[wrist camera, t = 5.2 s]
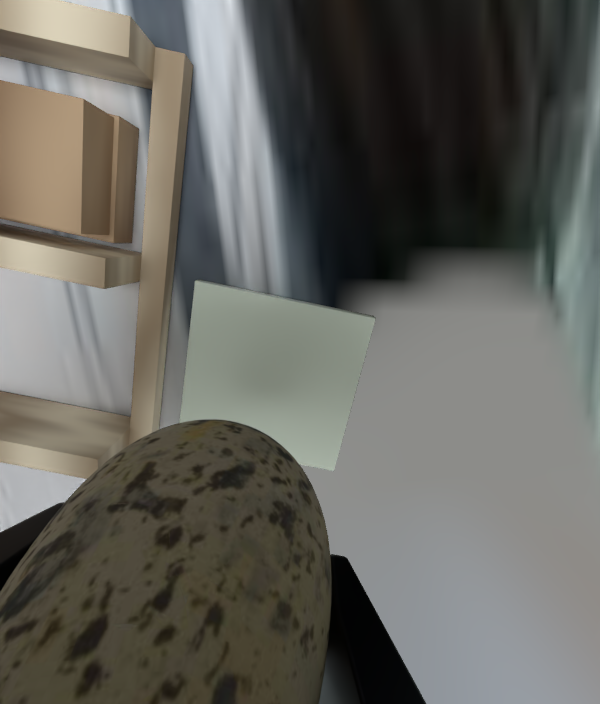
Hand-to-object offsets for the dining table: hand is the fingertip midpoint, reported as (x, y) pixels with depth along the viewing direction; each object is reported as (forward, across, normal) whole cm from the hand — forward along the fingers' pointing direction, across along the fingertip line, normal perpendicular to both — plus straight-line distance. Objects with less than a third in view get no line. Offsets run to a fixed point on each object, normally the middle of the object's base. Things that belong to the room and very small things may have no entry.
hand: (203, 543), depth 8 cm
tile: (+11, 0, 0) cm, 11 cm away
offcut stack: (+12, +13, -8) cm, 19 cm away
